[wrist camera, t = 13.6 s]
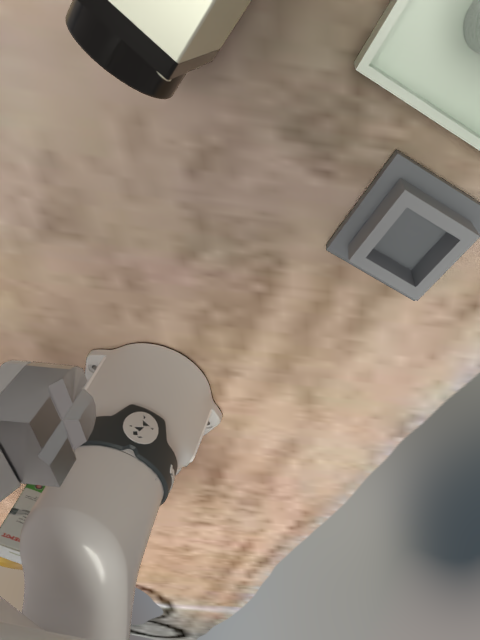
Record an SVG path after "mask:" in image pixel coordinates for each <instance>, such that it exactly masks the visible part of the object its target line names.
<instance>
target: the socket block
mask: <svg viewBox="0 0 480 640" xmlns="http://www.w3.org/2000/svg"><path fill="white" fill-rule="evenodd" d="M479 237H480V202H478V201H477V200H475V199H474V198H472V197H470V196H469V195H467V194H466V193H464V192H463V191H461V190H459V189H458V188H456V187H455V186H453V185H452V184H450V183H448V182H447V181H445V180H444V179H442V178H440V177H439V176H437V175H436V174H434V173H433V172H431V171H429V170H428V169H426V168H425V167H423V166H422V165H420V164H418V163H417V162H415V161H414V160H412V159H410V158H409V157H407V156H406V155H404V154H403V153H401V152H399V151H398V150H395V152H394V153H393V154H392V156H391V157H390V159H389V160H388V161H387V163H386V164H385V165H384V167H383V168H382V169H381V171H380V172H379V174H378V175H377V176H376V178H375V179H374V180H373V182H372V183H371V184H370V186H369V187H368V189H367V190H366V191H365V193H364V194H363V195H362V197H361V198H360V199H359V201H358V202H357V204H356V205H355V206H354V208H353V209H352V210H351V212H350V213H349V214H348V216H347V217H346V219H345V220H344V221H343V223H342V224H341V225H340V227H339V228H338V229H337V231H336V232H335V234H334V235H333V236H332V238H331V239H330V240H329V242H328V243H327V244H326V250H327V251H329V252H330V253H332V254H334V255H336V256H337V257H339V258H341V259H343V260H344V261H346V262H348V263H349V264H351V265H353V266H355V267H356V268H358V269H360V270H362V271H363V272H365V273H367V274H368V275H370V276H372V277H374V278H375V279H377V280H379V281H380V282H382V283H384V284H386V285H387V286H389V287H391V288H393V289H394V290H396V291H398V292H399V293H401V294H403V295H405V296H406V297H408V298H410V299H412V300H413V301H415V300H417V301H418V300H419V299H420V298H421V297H422V296H423V295H424V293H425V292H426V291H427V290H428V289H429V288H430V287H431V286H432V285H433V284H434V283H435V282H436V281H437V280H438V279H439V278H440V277H441V276H442V275H443V274H444V273H445V272H446V271H447V270H448V269H449V268H450V267H451V266H452V265H453V264H454V263H455V262H456V261H457V260H458V259H459V258H460V257H461V256H462V255H463V254H464V253H465V252H466V251H467V250H468V249H469V248H470V247H471V246H472V245H473V244H474V242H475V241H476V240H477V239H478V238H479Z"/></svg>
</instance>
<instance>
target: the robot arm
mask: <svg viewBox="0 0 480 640" xmlns="http://www.w3.org/2000/svg"><path fill="white" fill-rule="evenodd" d="M221 419H222V413H221V411H220V410H219V408H218V407H217V405H216V404H215V403H214V401H213V399H212V395H211V390H210V386H209V383H208V381H207V379H206V377H205V376H204V374H203V373H202V372H201V370H200V369H199V368H198V367H197V366H196V365H195V364H194V363H193V362H191V361H190V360H189V359H188V358H186V357H185V356H183V355H181V354H180V353H178V352H176V351H174V350H171V349H169V348H166V347H163V346H159V345H155V344H147V343H136V344H129V345H125V346H123V347H120V348H117V349H114V350H92V351H91V352H90V353H89V355H88V357H87V359H86V369H85V373H84V371H83V369H82V368H80V367H77V366H70V365H61V364H51V363H42V362H27V361H18V360H10V361H8V362H5V363H3V364H2V365H1V366H0V502H1V501H2V500H3V499H4V498H6V497H7V496H8V495H10V494H11V493H12V492H13V491H15V490H16V489H17V488H18V487H20V483H23V484H32V485H42V486H45V488H44V490H43V491H42V493H41V495H40V496H39V498H38V500H37V501H36V503H35V504H34V506H33V508H32V509H31V511H30V513H29V514H28V516H27V518H26V520H25V522H24V525H23V527H22V531H21V535H20V556H21V561H22V566H23V571H24V578H25V594H24V603H23V609H22V613H21V612H20V611H18V610H17V609H16V608H15V607H13V606H12V605H11V604H10V603H8V602H7V601H6V600H5V599H3V598H2V597H1V596H0V640H129V637H130V626H131V615H132V607H133V599H134V592H135V586H136V582H137V577H138V572H139V568H140V565H141V561H142V558H143V555H144V552H145V549H146V546H147V542H148V539H149V536H150V533H151V530H152V527H153V524H154V521H155V518H156V516H157V513H158V510H159V507H160V505H162V504H163V503H164V502H165V500H166V498H167V496H168V494H169V492H170V490H171V489H172V486H173V483H174V479H175V475H177V474H178V473H179V471H180V470H181V468H182V467H184V466H185V467H186V466H187V465H188V464H189V463H190V462H192V461H193V460H194V458H195V456H196V453H197V450H198V448H199V445H200V442H201V440H202V437H203V436H204V435H205V434H207V433H208V432H209V431H211V430H212V429H213V428H215V427H216V426H217V425H219V423H220V421H221Z"/></svg>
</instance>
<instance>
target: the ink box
mask: <svg viewBox="0 0 480 640" xmlns="http://www.w3.org/2000/svg"><path fill="white" fill-rule="evenodd" d="M44 488H45V486H42V485H32V484H27V485H26V487H25V488H24V490H23V491H22V493H21V495H20V496H19V498H18V500H17V501H16V503H15V504H14V506H13V508H12V509H11V511H10V512H9V514H8V516H7V517H6V519H5V520H4V522H3V524H2V525H1V527H0V557H3V558H6V559H9V560H11V561H14V562H17V563H20V564H22V561H21V556H20V535H21V531H22V527H23V525H24V522H25V520H26V518H27V516H28V514H29V513H30V511H31V509H32V508H33V506H34V504H35V503H36V501H37V500H38V498H39V496H40V495H41V493H42V491H43V490H44Z"/></svg>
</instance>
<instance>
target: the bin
mask: <svg viewBox="0 0 480 640" xmlns="http://www.w3.org/2000/svg"><path fill="white" fill-rule="evenodd" d="M473 1H474V0H391V1H390V3H389V4H388V6H387V8H386V9H385V11H384V13H383V14H382V16H381V18H380V19H379V21H378V23H377V24H376V26H375V28H374V30H373V31H372V33H371V35H370V36H369V38H368V40H367V41H366V43H365V45H364V46H363V48H362V50H361V51H360V53H359V55H358V56H357V58H356V60H355V61H354V66H355V69H356V70H357V71H358V72H360V73H361V74H363V75H365V76H366V77H368V78H369V79H371V80H372V81H374V82H375V83H377V84H378V85H380V86H381V87H383V88H384V89H386V90H387V91H389V92H390V93H392V94H394V95H395V96H397V97H398V98H400V99H401V100H403V101H404V102H406V103H407V104H409V105H410V106H412V107H413V108H415V109H416V110H418V111H420V112H421V113H423V114H424V115H426V116H427V117H429V118H430V119H432V120H433V121H435V122H436V123H438V124H439V125H441V126H442V127H444V128H446V129H447V130H449V131H450V132H452V133H453V134H455V135H456V136H458V137H459V138H461V139H462V140H464V141H465V142H467V143H468V144H470V145H472V146H473V147H475V148H476V149H478V150H479V151H480V54H479V53H476V52H475V51H473V50H472V49H470V47H469V46H468V45H467V43H466V41H465V39H464V35H463V23H464V18H465V15H466V12H467V10H468V8H469V7H470V5H471V3H472V2H473Z"/></svg>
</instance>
